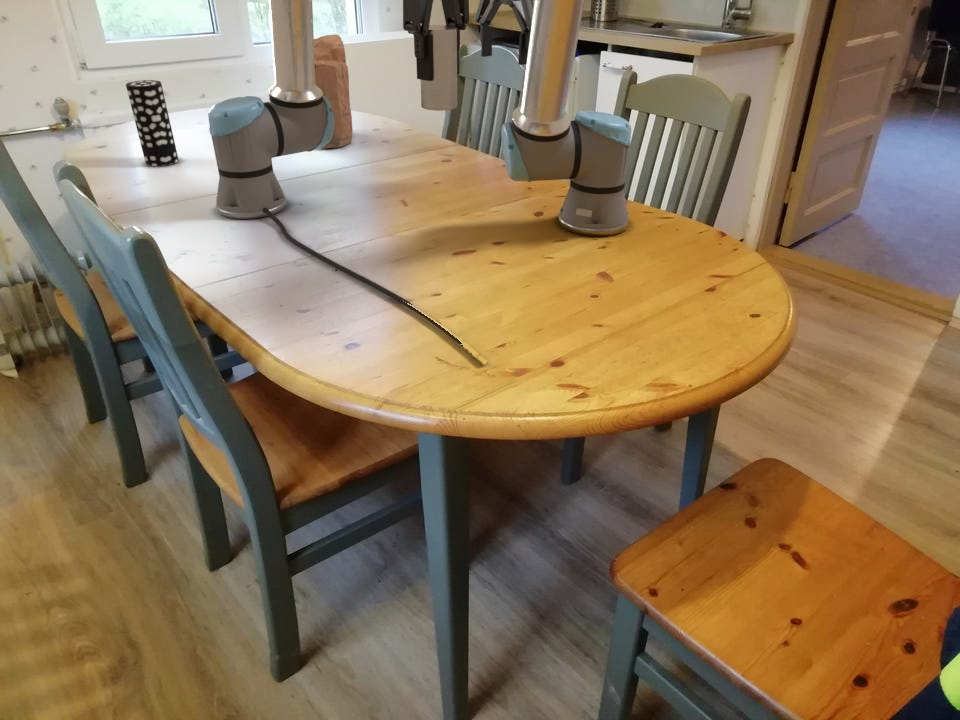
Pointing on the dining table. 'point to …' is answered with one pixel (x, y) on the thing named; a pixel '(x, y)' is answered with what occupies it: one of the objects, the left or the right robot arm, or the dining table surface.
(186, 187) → the dining table surface
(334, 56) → the stone
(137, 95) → the black white spotted cylinder
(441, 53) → the tin
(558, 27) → the right robot arm
